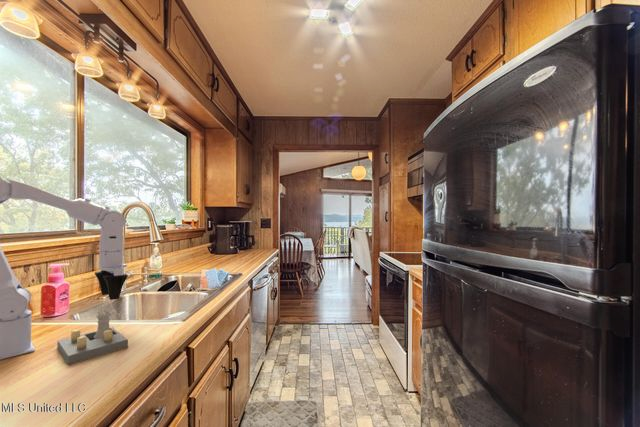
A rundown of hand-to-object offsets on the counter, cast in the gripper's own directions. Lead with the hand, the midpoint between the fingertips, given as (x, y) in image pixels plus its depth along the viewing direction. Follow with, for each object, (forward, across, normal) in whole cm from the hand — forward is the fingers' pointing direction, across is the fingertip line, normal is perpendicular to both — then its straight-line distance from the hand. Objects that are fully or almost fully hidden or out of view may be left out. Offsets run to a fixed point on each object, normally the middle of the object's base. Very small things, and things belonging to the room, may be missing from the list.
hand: (110, 296), depth 86 cm
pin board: (+10, -9, +6) cm, 15 cm away
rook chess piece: (+11, -6, +3) cm, 13 cm away
